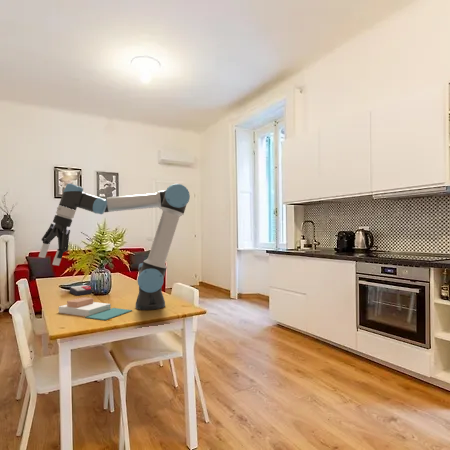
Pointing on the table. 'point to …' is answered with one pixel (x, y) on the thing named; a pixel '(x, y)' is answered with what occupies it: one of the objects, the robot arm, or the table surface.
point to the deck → (85, 309)
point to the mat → (108, 314)
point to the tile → (80, 302)
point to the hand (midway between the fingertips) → (48, 261)
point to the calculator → (81, 290)
